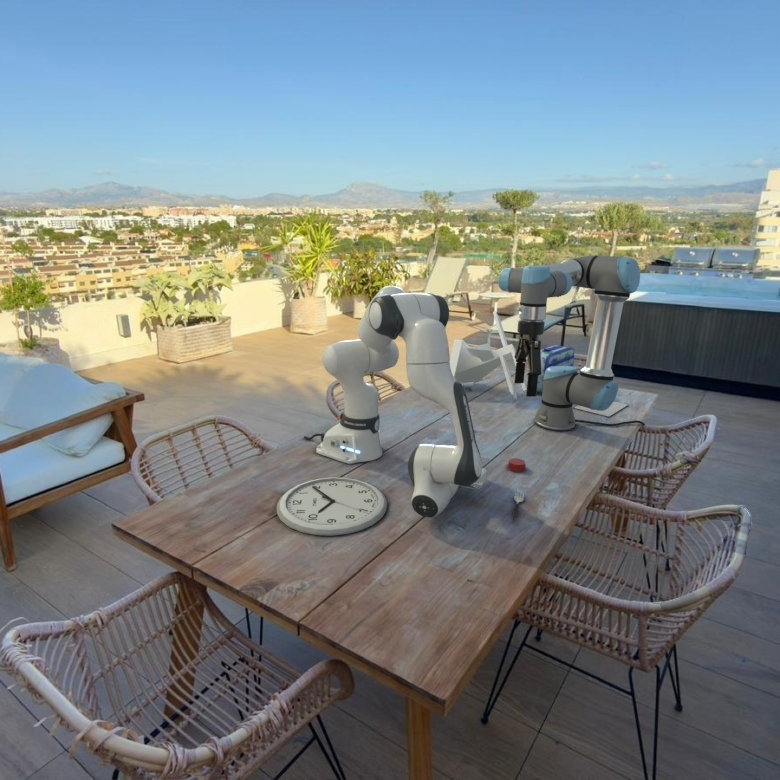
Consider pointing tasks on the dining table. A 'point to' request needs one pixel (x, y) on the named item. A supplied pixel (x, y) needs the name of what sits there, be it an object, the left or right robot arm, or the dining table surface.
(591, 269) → the right robot arm
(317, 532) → the wall clock
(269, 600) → the dining table surface
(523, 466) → the lid
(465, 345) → the white plastic object
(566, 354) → the lunch box
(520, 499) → the fork
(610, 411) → the invitation card
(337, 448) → the left robot arm
